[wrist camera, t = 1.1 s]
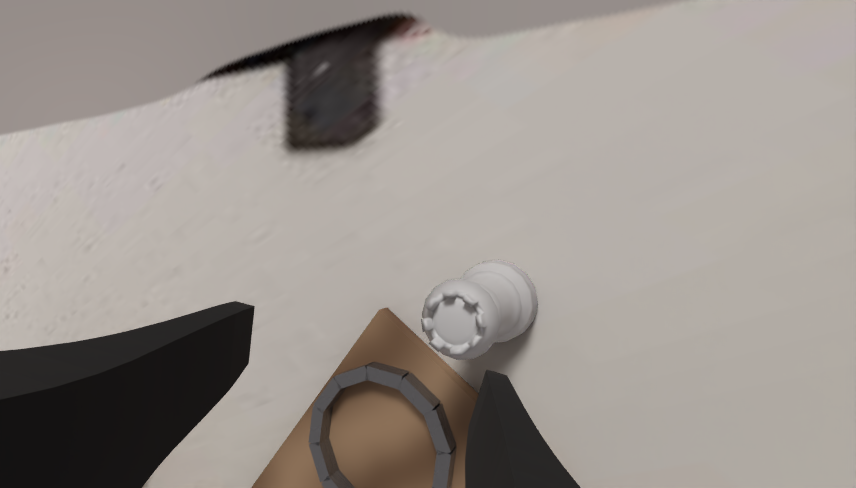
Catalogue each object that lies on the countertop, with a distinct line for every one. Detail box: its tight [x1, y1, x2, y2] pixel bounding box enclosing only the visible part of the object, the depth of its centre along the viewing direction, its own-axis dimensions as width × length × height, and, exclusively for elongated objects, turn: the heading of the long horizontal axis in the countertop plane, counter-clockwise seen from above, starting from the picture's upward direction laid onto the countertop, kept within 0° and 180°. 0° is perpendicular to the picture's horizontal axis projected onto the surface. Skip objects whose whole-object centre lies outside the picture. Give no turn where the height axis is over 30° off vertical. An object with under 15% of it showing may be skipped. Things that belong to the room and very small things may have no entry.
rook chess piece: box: [421, 259, 538, 360], centre depth 19 cm, size 4×4×8 cm
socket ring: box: [309, 362, 457, 488], centre depth 24 cm, size 9×9×1 cm
